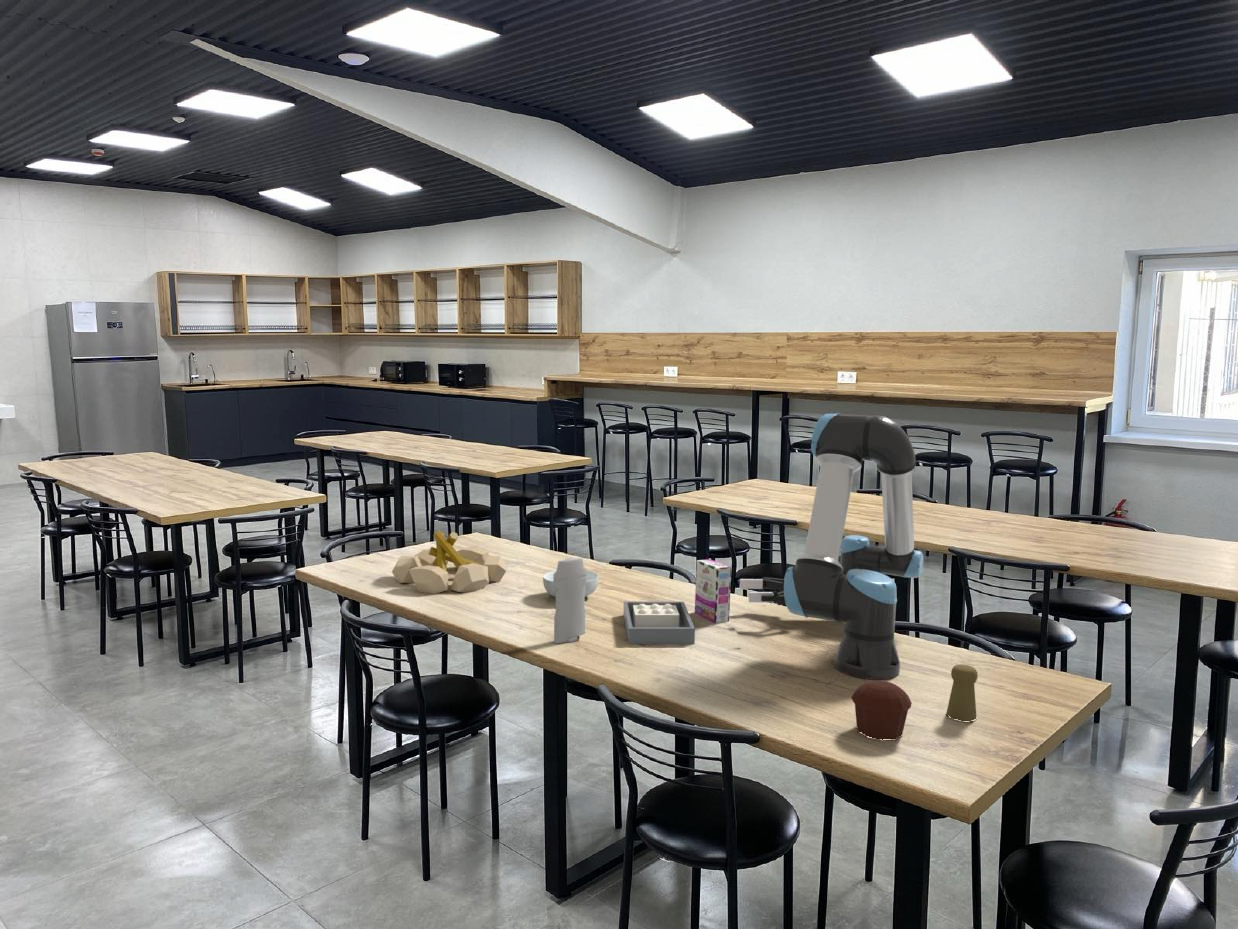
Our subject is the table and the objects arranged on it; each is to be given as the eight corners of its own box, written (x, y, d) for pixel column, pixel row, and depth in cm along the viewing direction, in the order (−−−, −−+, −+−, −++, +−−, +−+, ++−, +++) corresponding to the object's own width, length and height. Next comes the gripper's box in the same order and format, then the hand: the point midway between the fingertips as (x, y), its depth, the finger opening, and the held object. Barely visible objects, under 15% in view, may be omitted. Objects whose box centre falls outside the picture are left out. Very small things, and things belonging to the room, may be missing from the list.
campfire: (377, 578, 289) (376, 527, 287) (466, 562, 312) (465, 515, 310) (432, 602, 264) (432, 546, 261) (525, 583, 286) (525, 531, 284)
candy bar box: (730, 624, 246) (732, 567, 244) (715, 626, 244) (717, 568, 242) (708, 613, 256) (710, 558, 254) (693, 615, 254) (695, 559, 252)
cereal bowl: (588, 588, 281) (588, 566, 280) (606, 602, 265) (606, 579, 264) (536, 592, 275) (536, 570, 274) (551, 607, 259) (552, 584, 258)
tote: (694, 647, 227) (695, 628, 226) (628, 647, 226) (628, 628, 225) (683, 618, 251) (683, 601, 250) (623, 618, 250) (623, 601, 249)
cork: (969, 710, 190) (972, 661, 189) (981, 722, 184) (985, 671, 183) (941, 710, 190) (944, 661, 188) (953, 722, 184) (956, 671, 182)
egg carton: (679, 627, 240) (679, 611, 239) (634, 627, 239) (635, 611, 238) (675, 617, 248) (675, 601, 248) (632, 617, 248) (633, 601, 247)
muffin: (852, 740, 175) (854, 692, 173) (846, 717, 185) (849, 672, 184) (914, 746, 173) (917, 697, 171) (905, 722, 184) (908, 676, 182)
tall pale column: (557, 646, 226) (558, 562, 223) (548, 641, 230) (549, 558, 227) (590, 637, 233) (591, 556, 230) (581, 633, 236) (582, 553, 233)
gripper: (830, 617, 239) (752, 616, 238) (806, 591, 264) (736, 591, 263) (831, 590, 238) (753, 589, 237) (808, 566, 263) (737, 566, 262)
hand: (744, 590), depth 250 cm, fingers open, 13 cm apart
